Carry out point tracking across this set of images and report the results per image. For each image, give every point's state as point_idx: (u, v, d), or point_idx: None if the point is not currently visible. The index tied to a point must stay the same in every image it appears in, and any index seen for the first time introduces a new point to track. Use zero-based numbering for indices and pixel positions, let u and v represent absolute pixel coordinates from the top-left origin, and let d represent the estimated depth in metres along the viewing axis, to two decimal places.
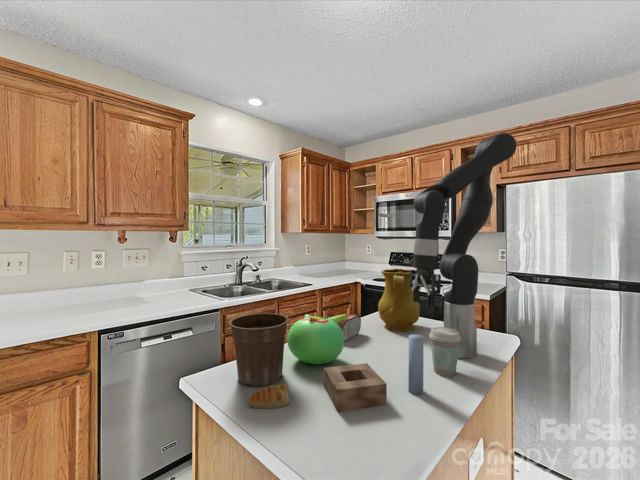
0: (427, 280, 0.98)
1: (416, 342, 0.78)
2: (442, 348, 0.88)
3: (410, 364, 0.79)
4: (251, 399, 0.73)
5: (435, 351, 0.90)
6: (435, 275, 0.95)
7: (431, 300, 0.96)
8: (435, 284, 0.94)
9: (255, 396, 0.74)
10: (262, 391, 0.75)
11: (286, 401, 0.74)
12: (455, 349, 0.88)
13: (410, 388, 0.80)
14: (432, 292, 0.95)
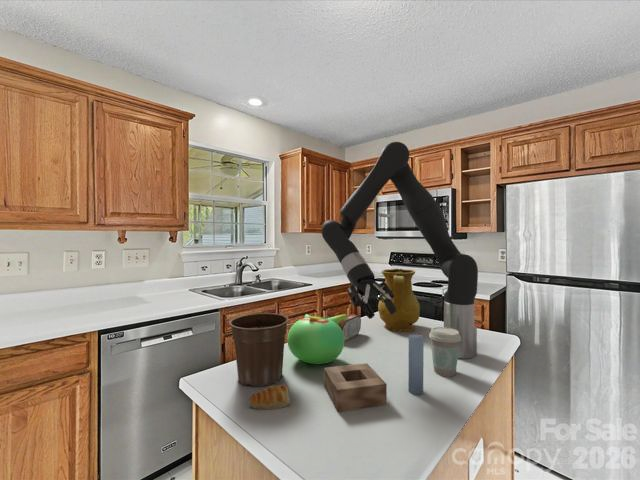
0: (360, 294, 0.93)
1: (416, 342, 0.78)
2: (442, 348, 0.88)
3: (410, 364, 0.79)
4: (252, 400, 0.73)
5: (435, 351, 0.90)
6: (348, 289, 0.92)
7: (364, 311, 0.88)
8: (351, 297, 0.90)
9: (256, 397, 0.73)
10: (263, 392, 0.75)
11: (287, 401, 0.73)
12: (455, 349, 0.88)
13: (410, 388, 0.80)
14: None
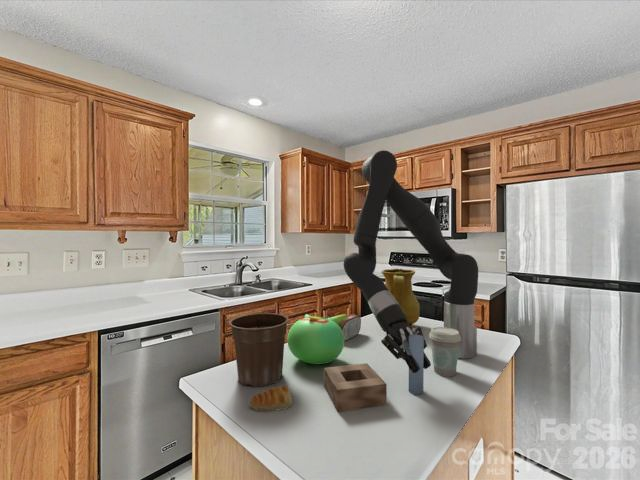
0: (395, 342, 0.82)
1: (416, 342, 0.78)
2: (442, 348, 0.88)
3: None
4: (253, 402, 0.72)
5: (435, 351, 0.90)
6: (382, 341, 0.81)
7: (408, 364, 0.78)
8: (390, 349, 0.80)
9: (257, 399, 0.73)
10: (264, 393, 0.74)
11: (289, 403, 0.73)
12: (455, 349, 0.88)
13: (410, 388, 0.80)
14: None
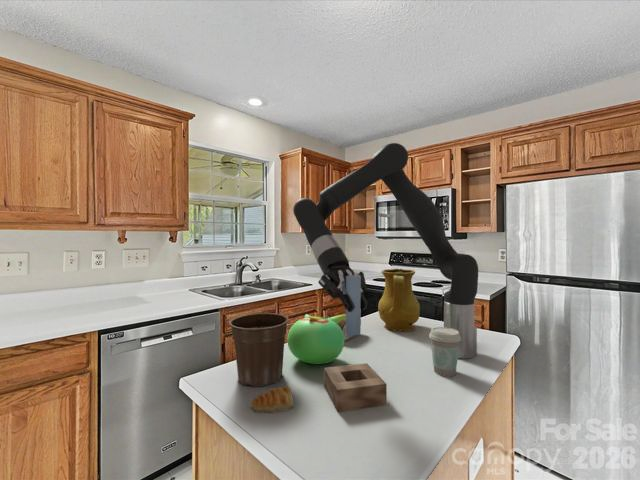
0: (333, 284, 0.80)
1: (352, 281, 0.76)
2: (442, 348, 0.88)
3: None
4: (255, 403, 0.71)
5: (435, 351, 0.90)
6: (319, 281, 0.78)
7: (343, 303, 0.76)
8: (326, 289, 0.77)
9: (259, 400, 0.72)
10: (265, 395, 0.73)
11: (290, 404, 0.73)
12: (455, 349, 0.88)
13: (346, 329, 0.77)
14: None
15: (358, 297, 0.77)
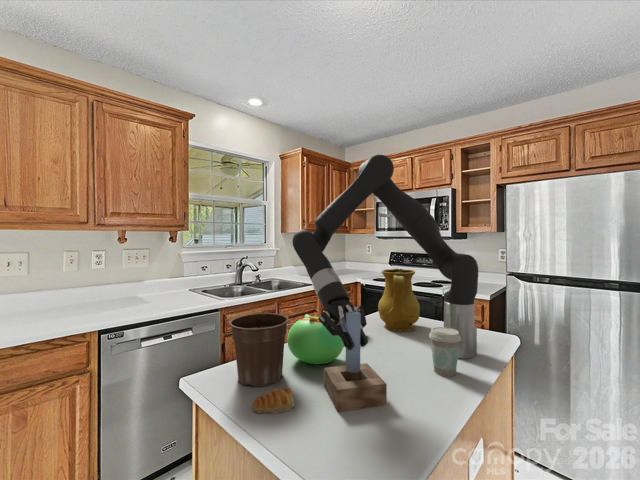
0: (333, 320, 0.80)
1: (352, 319, 0.76)
2: (442, 348, 0.88)
3: None
4: (256, 404, 0.71)
5: (435, 351, 0.90)
6: (319, 317, 0.79)
7: (343, 341, 0.76)
8: (326, 326, 0.78)
9: (260, 401, 0.71)
10: (266, 396, 0.73)
11: (292, 404, 0.72)
12: (455, 349, 0.88)
13: (346, 366, 0.78)
14: None
15: (358, 335, 0.77)
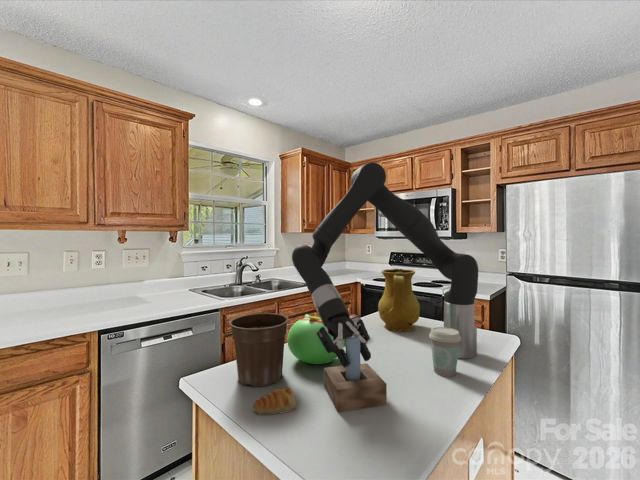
0: (332, 336, 0.80)
1: (351, 345, 0.76)
2: (442, 348, 0.88)
3: (346, 367, 0.78)
4: (257, 405, 0.71)
5: (435, 351, 0.90)
6: (318, 332, 0.79)
7: (339, 358, 0.76)
8: (323, 341, 0.78)
9: (261, 402, 0.71)
10: (267, 396, 0.72)
11: (293, 405, 0.72)
12: (455, 349, 0.88)
13: None
14: None
15: (358, 361, 0.77)
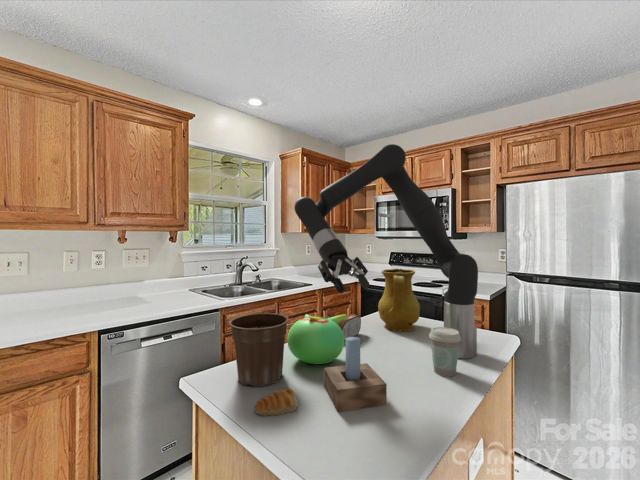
0: None
1: (351, 345, 0.77)
2: (442, 348, 0.88)
3: (346, 367, 0.78)
4: (259, 407, 0.70)
5: (435, 351, 0.90)
6: (319, 265, 0.89)
7: (335, 286, 0.85)
8: (322, 272, 0.87)
9: (262, 403, 0.71)
10: (269, 397, 0.72)
11: (295, 406, 0.72)
12: (455, 349, 0.88)
13: None
14: None
15: (358, 361, 0.77)
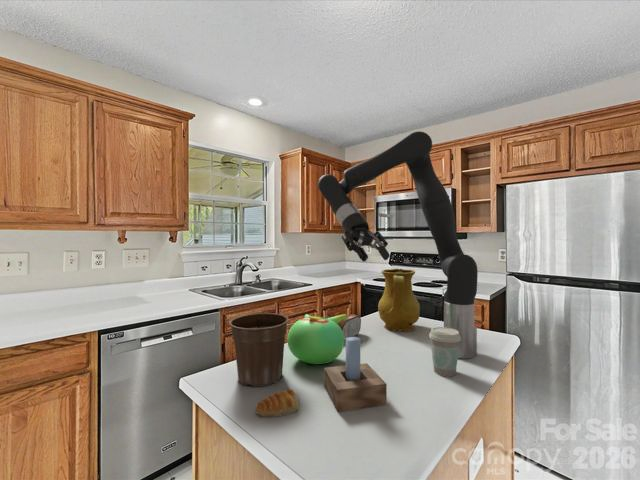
0: (354, 241, 0.95)
1: (351, 345, 0.76)
2: (442, 348, 0.88)
3: (346, 367, 0.78)
4: (260, 408, 0.70)
5: (435, 351, 0.90)
6: None
7: (358, 254, 0.91)
8: (345, 242, 0.93)
9: (264, 404, 0.70)
10: (270, 399, 0.72)
11: (296, 407, 0.71)
12: (455, 349, 0.88)
13: None
14: None
15: (358, 361, 0.77)
